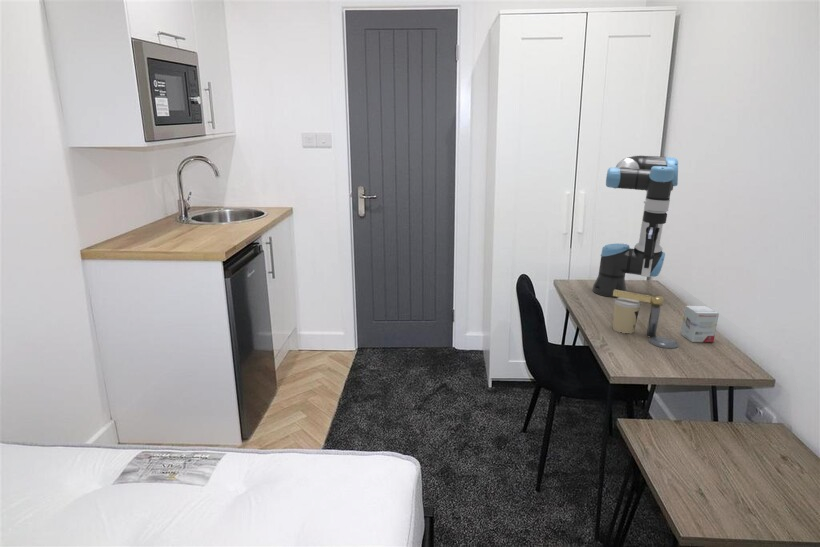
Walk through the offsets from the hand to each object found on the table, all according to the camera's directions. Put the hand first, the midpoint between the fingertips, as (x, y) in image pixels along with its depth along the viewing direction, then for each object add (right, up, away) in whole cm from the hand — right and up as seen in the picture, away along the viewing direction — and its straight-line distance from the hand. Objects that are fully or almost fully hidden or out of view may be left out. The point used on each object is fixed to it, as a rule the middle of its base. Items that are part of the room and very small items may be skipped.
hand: (645, 276), depth 197 cm
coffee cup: (-2, -21, +15) cm, 26 cm away
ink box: (+23, -24, +9) cm, 35 cm away
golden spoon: (+1, -9, +10) cm, 13 cm away
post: (+6, -23, +10) cm, 26 cm away
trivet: (+8, -25, +3) cm, 26 cm away
